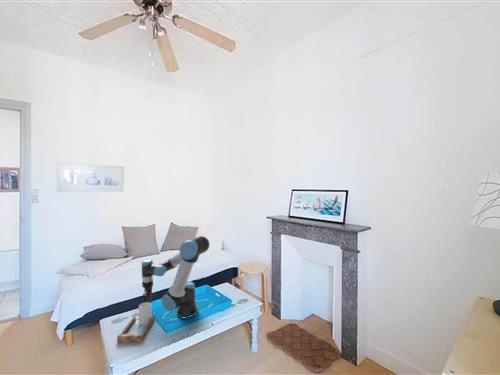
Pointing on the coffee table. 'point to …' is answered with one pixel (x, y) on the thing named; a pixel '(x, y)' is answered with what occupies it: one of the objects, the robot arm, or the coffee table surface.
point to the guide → (134, 337)
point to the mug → (144, 313)
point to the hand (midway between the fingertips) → (148, 311)
